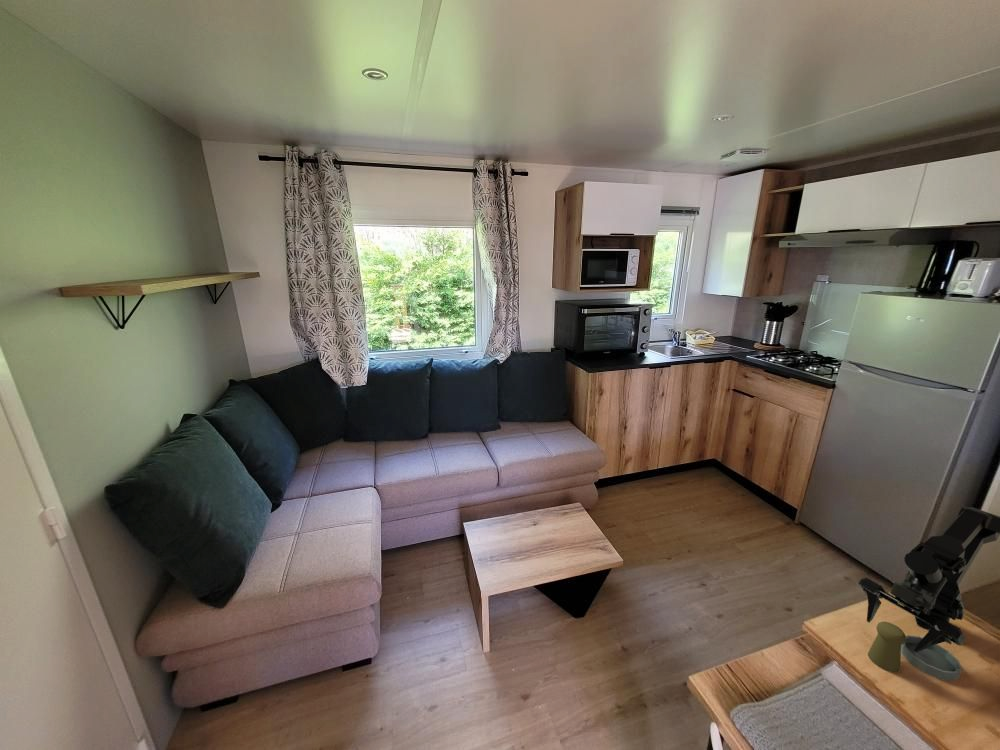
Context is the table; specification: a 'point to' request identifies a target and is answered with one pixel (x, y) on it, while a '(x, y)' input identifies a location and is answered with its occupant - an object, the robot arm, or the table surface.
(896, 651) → the cork
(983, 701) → the table surface
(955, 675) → the gray bowl
